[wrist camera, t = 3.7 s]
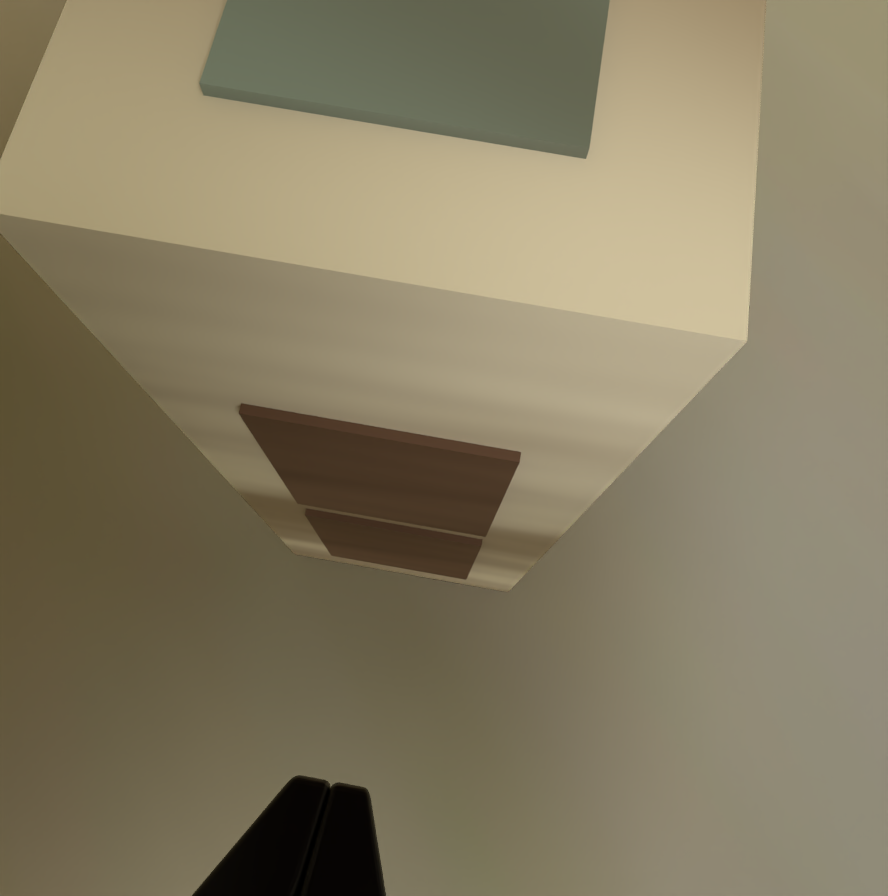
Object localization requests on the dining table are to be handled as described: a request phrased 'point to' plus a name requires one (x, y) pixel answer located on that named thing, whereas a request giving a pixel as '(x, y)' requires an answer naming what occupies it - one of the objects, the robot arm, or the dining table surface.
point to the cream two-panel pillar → (402, 247)
